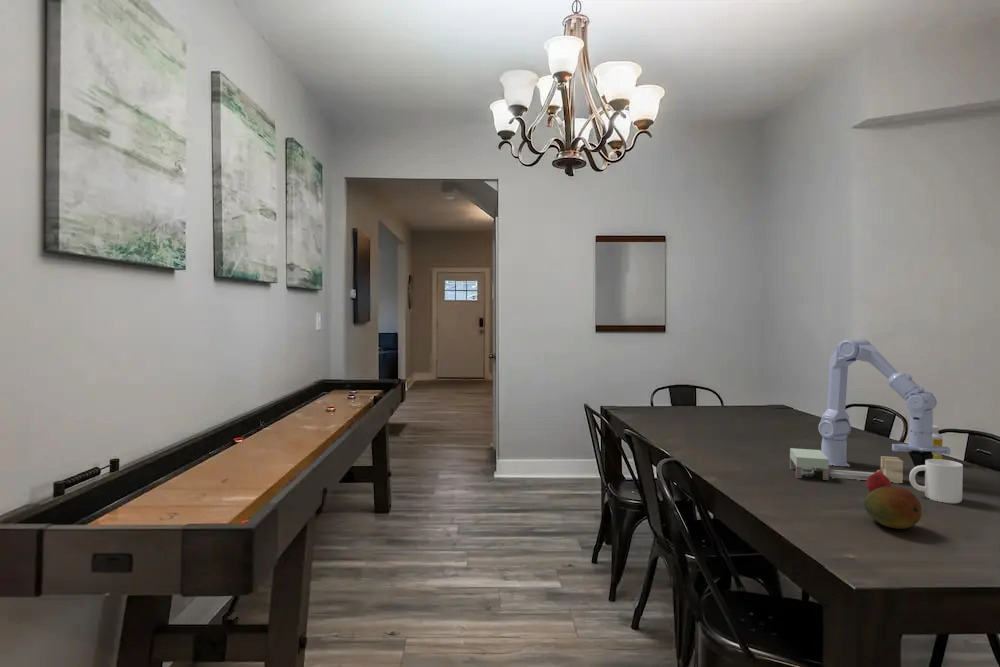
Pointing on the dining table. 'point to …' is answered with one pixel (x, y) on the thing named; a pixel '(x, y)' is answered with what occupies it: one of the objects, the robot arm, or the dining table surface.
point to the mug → (940, 480)
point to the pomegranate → (877, 481)
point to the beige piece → (889, 468)
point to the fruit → (893, 507)
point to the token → (807, 471)
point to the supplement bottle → (936, 441)
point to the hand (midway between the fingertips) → (920, 475)
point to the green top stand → (809, 461)
